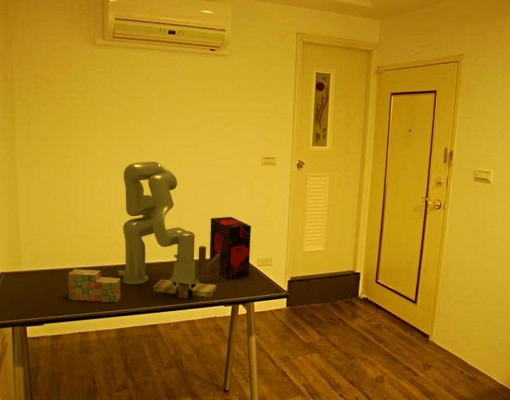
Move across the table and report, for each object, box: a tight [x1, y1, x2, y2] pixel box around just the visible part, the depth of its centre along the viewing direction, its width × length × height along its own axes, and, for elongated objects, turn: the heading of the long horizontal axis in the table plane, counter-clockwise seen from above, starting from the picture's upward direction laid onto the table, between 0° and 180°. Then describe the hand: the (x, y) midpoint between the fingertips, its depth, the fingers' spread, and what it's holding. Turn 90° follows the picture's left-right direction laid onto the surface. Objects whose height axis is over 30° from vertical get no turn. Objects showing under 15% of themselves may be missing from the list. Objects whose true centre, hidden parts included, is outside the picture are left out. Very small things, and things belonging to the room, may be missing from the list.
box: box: [209, 216, 252, 281], centre depth 240 cm, size 23×12×28 cm, turn 29°
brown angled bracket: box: [197, 245, 220, 283], centre depth 226 cm, size 4×11×18 cm, turn 103°
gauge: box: [177, 283, 189, 300], centre depth 210 cm, size 4×14×6 cm, turn 171°
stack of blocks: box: [67, 269, 122, 304], centre depth 198 cm, size 21×6×12 cm, turn 86°
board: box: [153, 278, 217, 298], centre depth 213 cm, size 28×10×2 cm, turn 81°
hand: (184, 295), depth 206 cm, fingers closed on gauge, 4 cm apart
